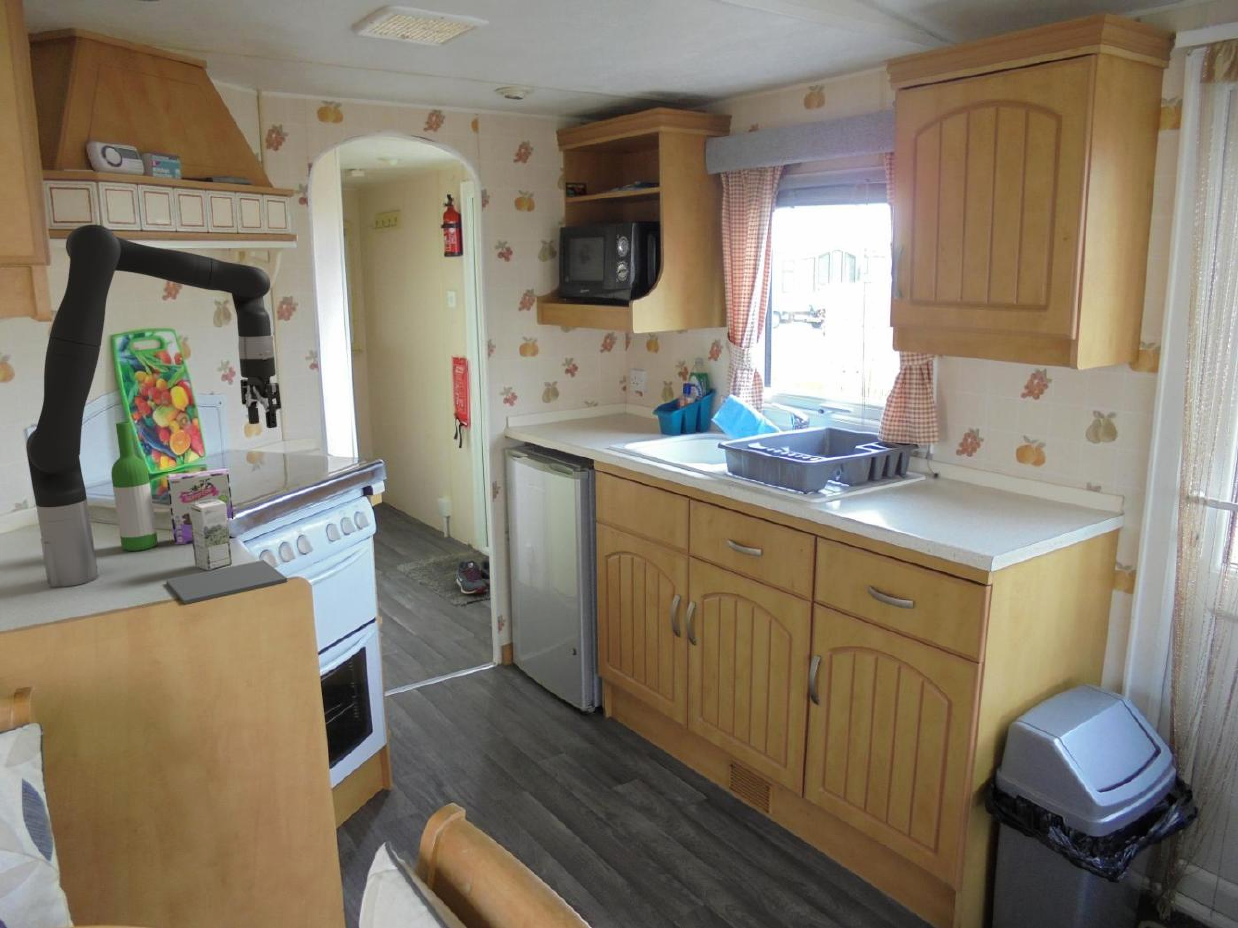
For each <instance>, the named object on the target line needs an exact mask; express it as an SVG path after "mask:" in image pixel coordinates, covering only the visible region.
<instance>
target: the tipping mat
mask: <svg viewBox="0 0 1238 928" xmlns="http://www.w3.org/2000/svg"><path fill="white" fill-rule="evenodd" d="M284 583H288V578H287V576H285V575H283V573H281V572H280V571H278V570H277V569H275V567H273V565H271V564H269V562H267V561H265V560H264V559H263V560H258V561H252V562H248V563H244V564H237V565H233V566H228V567H223V568H222V567H221V568H216V569H212V570H209V571H208V570H207V571H204V572H198V573H194V574H188V575H183V576H179V577H174V578H169V579H166V585H167V586H168V587H169V588H170V589H171V590H172V592H173V593H174V594H175V595H176V596H177V597H178V599H180V601H181V602H182V603H183V604H184V605H188V604H193V603H197V602H201V601H203V602H204V601H206V600H211V599H215V598H216V599H217V598H220V597H225V596H229V595H234V594H238V593H242V592H247V591H252V590H256V589H261V588H266V587H270V586H274V585H279V584H284Z"/></svg>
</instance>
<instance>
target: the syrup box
mask: <svg viewBox="0 0 1238 928" xmlns="http://www.w3.org/2000/svg"><path fill="white" fill-rule="evenodd" d="M188 506H189V515H190V523H191V532H192V540H193V543H192V547H193V555H194V556H193V557H194V564H195V566H196V567H197V568H200V569H202V570H205V571H207V572H208V571H212V570H217V569H221V568H222V567H223V568H225V567H226V566H231V565H233V560H232V559H233V558H232V552H231V551H232V550H231V549H232V547H231V540H230V539H231V538H229V529H228V520H227V510H226V503H224V502H222V501H220V500H217V499H209V500H205V501H200V502H196V503H191V504H189V505H188Z"/></svg>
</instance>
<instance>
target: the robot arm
mask: <svg viewBox="0 0 1238 928" xmlns="http://www.w3.org/2000/svg"><path fill="white" fill-rule="evenodd" d="M65 250H66V251H65V252H66V254H67V256H68V257H69V267H68V268H69V270H68V276H67V278H68V279H67V283H66V284H67V285H66V289H65V292H64V295H63V298H62V300H61V302H60V304H59V307H58V308H57V312H56V314H55V316H54V320H53V323H52V326H51V329H50V333H49V337H48V343H47V347H46V352H45V353H46V354H45V359H44V369H43V370H44V372H43V401H42V402H43V403H42V407H41V411H40V415H39V419H38V422H37V425H36V428H35V429H34V430H33V431H32V432H31V433H30V435H29V436H28V437H27V441H26V445H25V446H26V457H27V462H28V468H29V473H30V478H31V485H32V491H33V494H34V499H35V500H34V501H35V506H36V513H37V518H38V524H39V531H40V537H41V538H40V542H41V543H40V544H41V550H42V555H43V556H42V557H43V561H44V568H45V573H46V581H47V583H48V584H49V586H50V588H51V589H52V588H57V587H58V588H59V587H71V586H76V585H82V584H86V583H89V582H91V581H93V580H95V579H97V578H98V577H99V571H98V564H97V557H96V550H95V545H94V538H93V537H94V536H93V530H92V525H91V524H92V523H91V517H90V511H89V505H88V498H87V490H86V486H85V482H84V477H83V473H82V467H81V459H80V455H81V442H82V428H83V419H84V412H85V407H86V403H87V400H88V397H89V395H90V391H91V388H92V385H93V381H94V377H95V374H96V369H97V366H98V362H99V356H100V351H101V345H102V341H103V333H104V327H105V326H104V325H105V320H106V319H105V318H106V317H105V316H106V308H107V299H108V295H109V290H110V288H111V284H112V281H113V277H114V276H115V275H114V274H115V272H118V271H119V272H126V273H133V274H139V275H143V276H144V275H145V276H148V277H151V278H156V279H161V280H164V281H169V282H171V283H176V284H181V285H184V286H188V287H193V288H197V289H203V290H207V291H217V292H219V291H220V292H224V293H228V294H231V296H232V301H233V306H234V309H235V313H236V320H237V322H236V323H237V334H238V343H237V344H238V345H237V346H238V347H237V348H238V358H239V368H240V369H239V370H240V371H239V372H240V376H241V377H242V378H243V379H241V380H240V394H241V397H240V398H241V404H242V405H243V406H244V405H245V408H246V409H247V414H248V415H247V417H248V423H249V424H250V425H258V424H259V423H260V416H259V415H260V414H259V404H261V405H262V406H263V408H264V410H265V412H264V413H265V424H266V426H265V427H266V428H267V429H274V428H277V427H278V423H277V411H278V410H281V408H282V402H281V393H280V385H279V383H278V382H272V380H271V378H272V377H274V376H276V375H277V374H276V373H277V372H276V362H275V360H276V359H275V351H274V350H275V349H274V342H273V338H272V329H271V319H270V315H269V312H268V311H267V310H266V309H265V301H264V296H266V295H267V293H268V292H269V291H270V289H271V280H270V277H269V275H268V273H266V272H265V270H262V269H261V268H259V267H256V266H253V265H246V264H241V263H237V262H236V263H235V262H228V261H227V262H226V261H224V260H219V259H216V258H214V257H210V256H205V255H201V254H197V253H192V252H188V251H187V252H186V251H181V250H174V249H170V248H169V249H168V248H162V247H155V246H149V245H145V244H141V243H137V242H133V241H130V240H126V239H124V238H122V237H118V236H116V234H115V233H114V232H113V231H112V230H110V229H109V228H108V227H106V226H104V225H100V224H86V225H82V226H78V227H77V228H76V227H75V229H74V230H72V231H71V232H70V234H68V235H67V238H66V241H65ZM244 378H245V379H244Z"/></svg>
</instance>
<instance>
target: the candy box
mask: <svg viewBox="0 0 1238 928" xmlns="http://www.w3.org/2000/svg"><path fill="white" fill-rule="evenodd" d="M166 476H167V477H166V482H167V493H168V502H169V511H170V520H171V525H172V533H173V540H174V545H175V546H177V545H186V544H193V540H192V532H191V523H190V515H189V506H188V505H189V504H191V503H196V502H200V501H205V500H209V499H217V500H220V501H222V502H224V503H226V510H227V517H228V518H232V519H233V517H234V518H235V516H234V510H233V509H234V508H233V499H232V490H231V480H230V479H231V478H230V472H229V468H222V469H221V468H220V469H212V470H211V469H210V470H202V471H192V472H191V471H190V472H183V473H181V472H180V473H170V474H168V473H167V475H166Z"/></svg>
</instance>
